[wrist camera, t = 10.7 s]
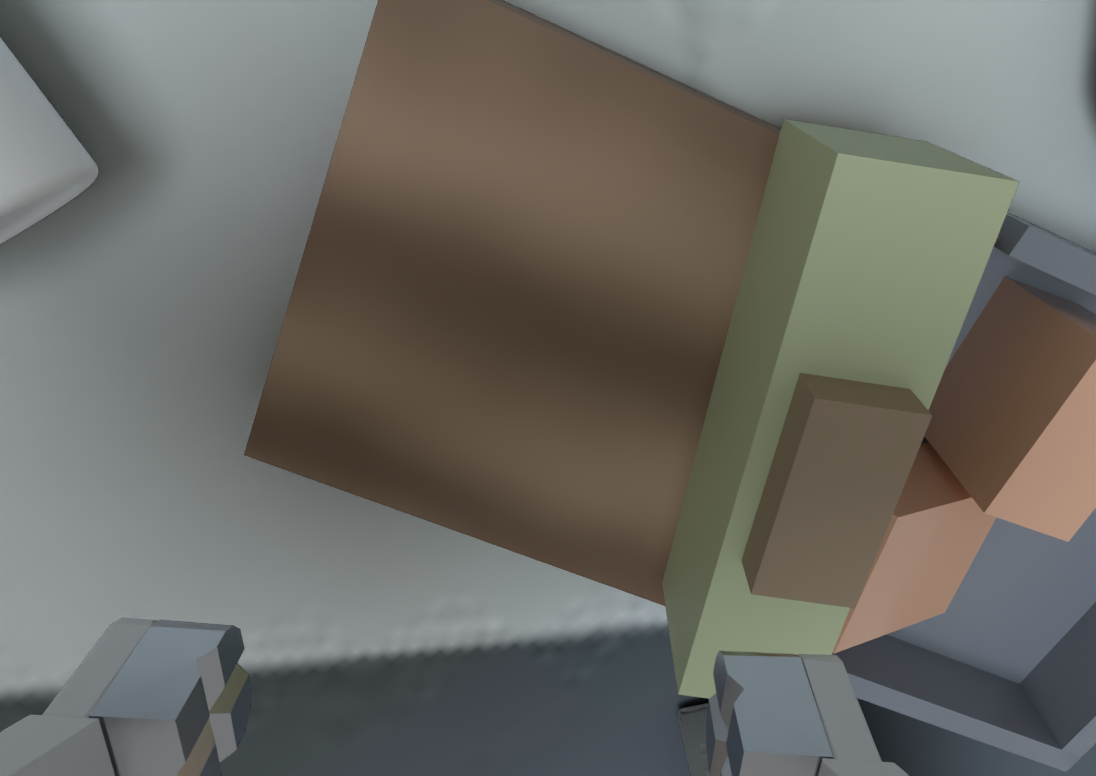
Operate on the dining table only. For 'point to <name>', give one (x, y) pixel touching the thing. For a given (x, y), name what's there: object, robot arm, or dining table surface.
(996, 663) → the tray
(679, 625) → the green bar
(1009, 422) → the tile
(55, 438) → the dining table surface
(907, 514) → the tile
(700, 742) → the skincare box
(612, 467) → the brown flat block
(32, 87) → the mug
